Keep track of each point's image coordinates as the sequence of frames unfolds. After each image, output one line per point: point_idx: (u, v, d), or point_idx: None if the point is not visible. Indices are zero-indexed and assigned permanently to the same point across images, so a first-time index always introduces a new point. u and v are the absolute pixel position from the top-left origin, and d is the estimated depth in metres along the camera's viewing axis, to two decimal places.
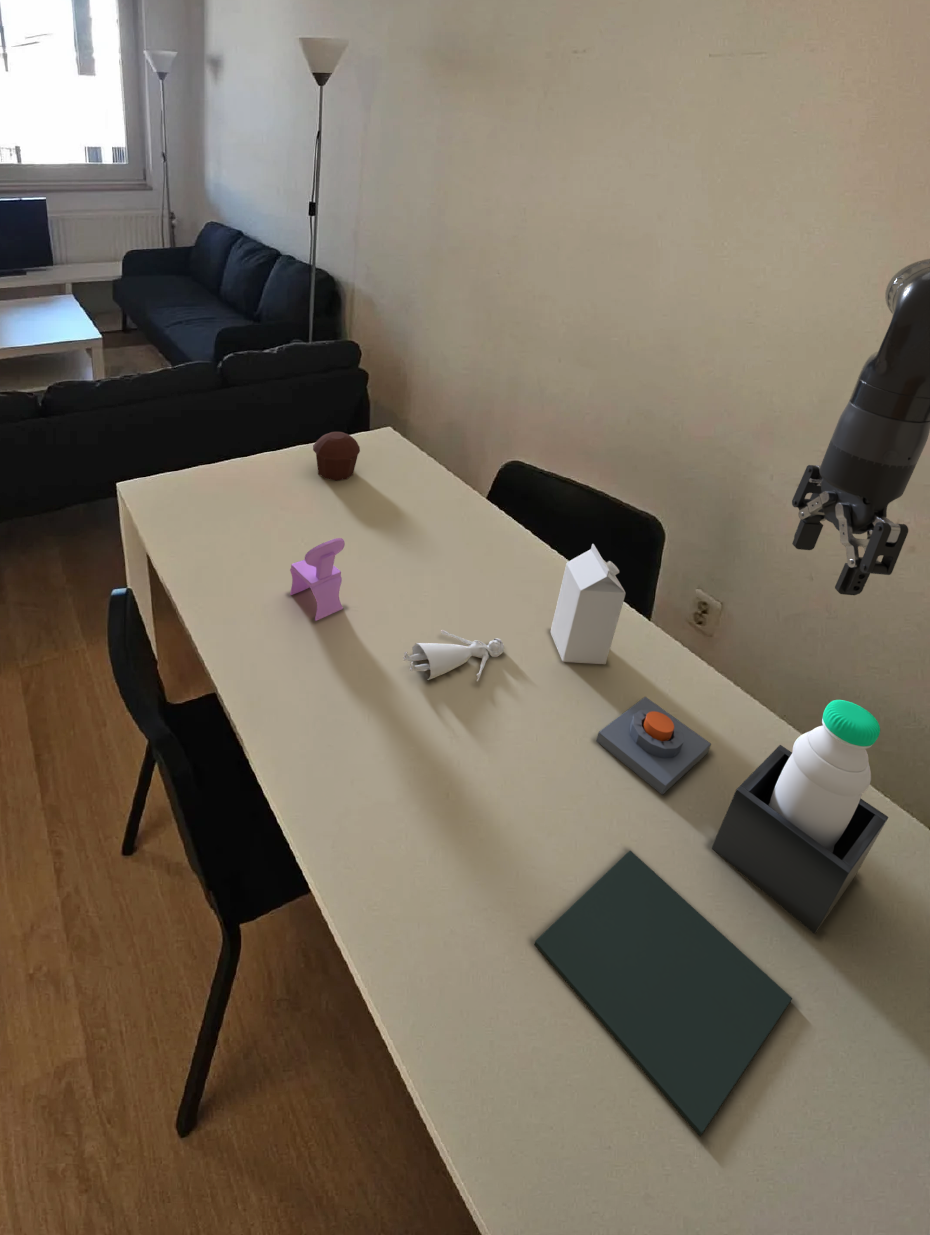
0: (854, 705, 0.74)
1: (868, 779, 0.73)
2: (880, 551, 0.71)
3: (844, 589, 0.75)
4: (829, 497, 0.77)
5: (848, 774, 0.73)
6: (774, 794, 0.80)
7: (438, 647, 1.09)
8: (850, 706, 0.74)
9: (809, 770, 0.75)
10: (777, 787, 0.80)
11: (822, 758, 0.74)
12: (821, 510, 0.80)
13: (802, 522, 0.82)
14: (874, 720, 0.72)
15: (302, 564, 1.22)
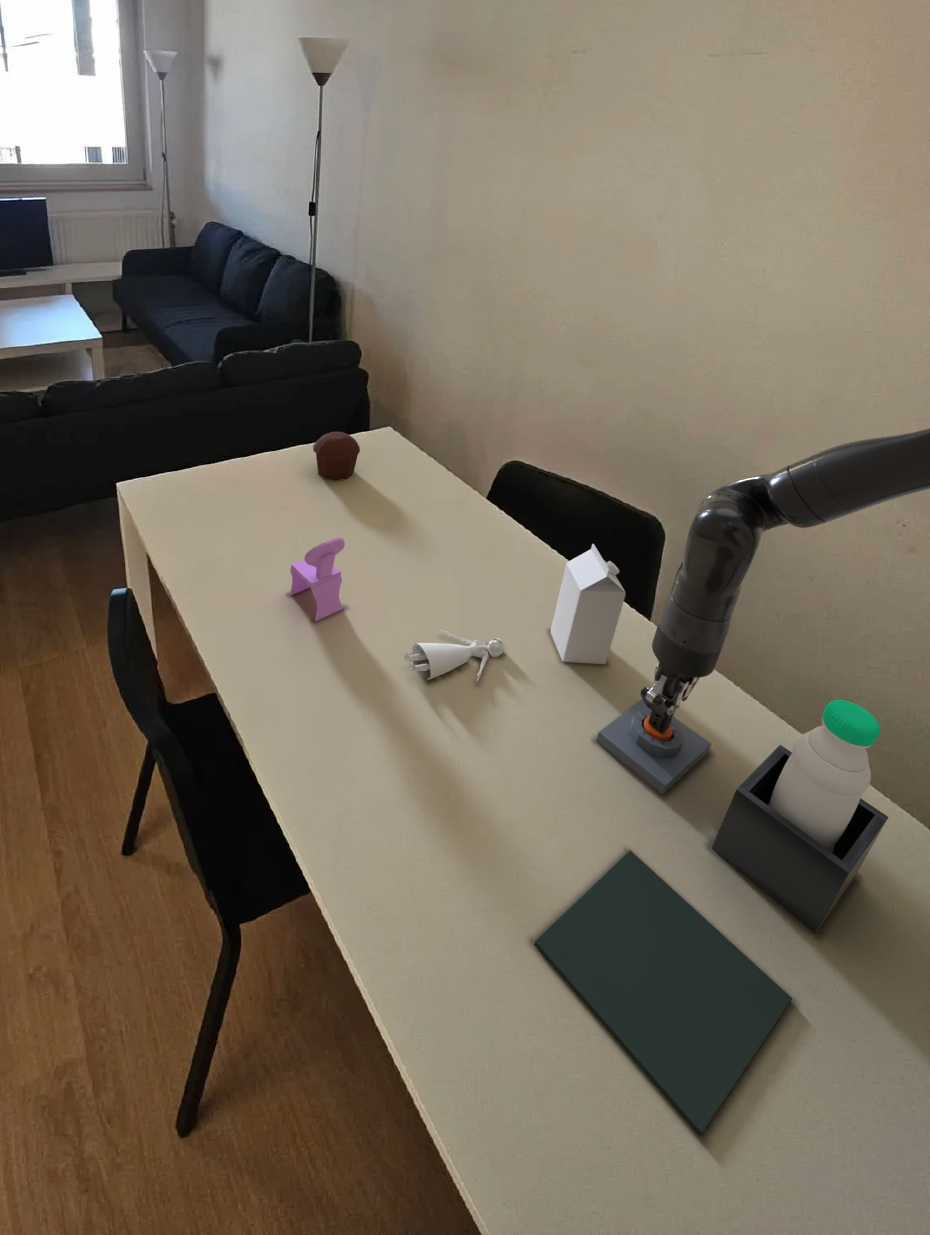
0: (854, 705, 0.74)
1: (868, 779, 0.73)
2: (646, 702, 0.91)
3: None
4: None
5: (848, 774, 0.73)
6: (774, 794, 0.80)
7: (438, 647, 1.09)
8: (850, 706, 0.74)
9: (809, 770, 0.75)
10: (777, 787, 0.80)
11: (822, 758, 0.74)
12: None
13: None
14: (874, 720, 0.72)
15: (302, 564, 1.22)
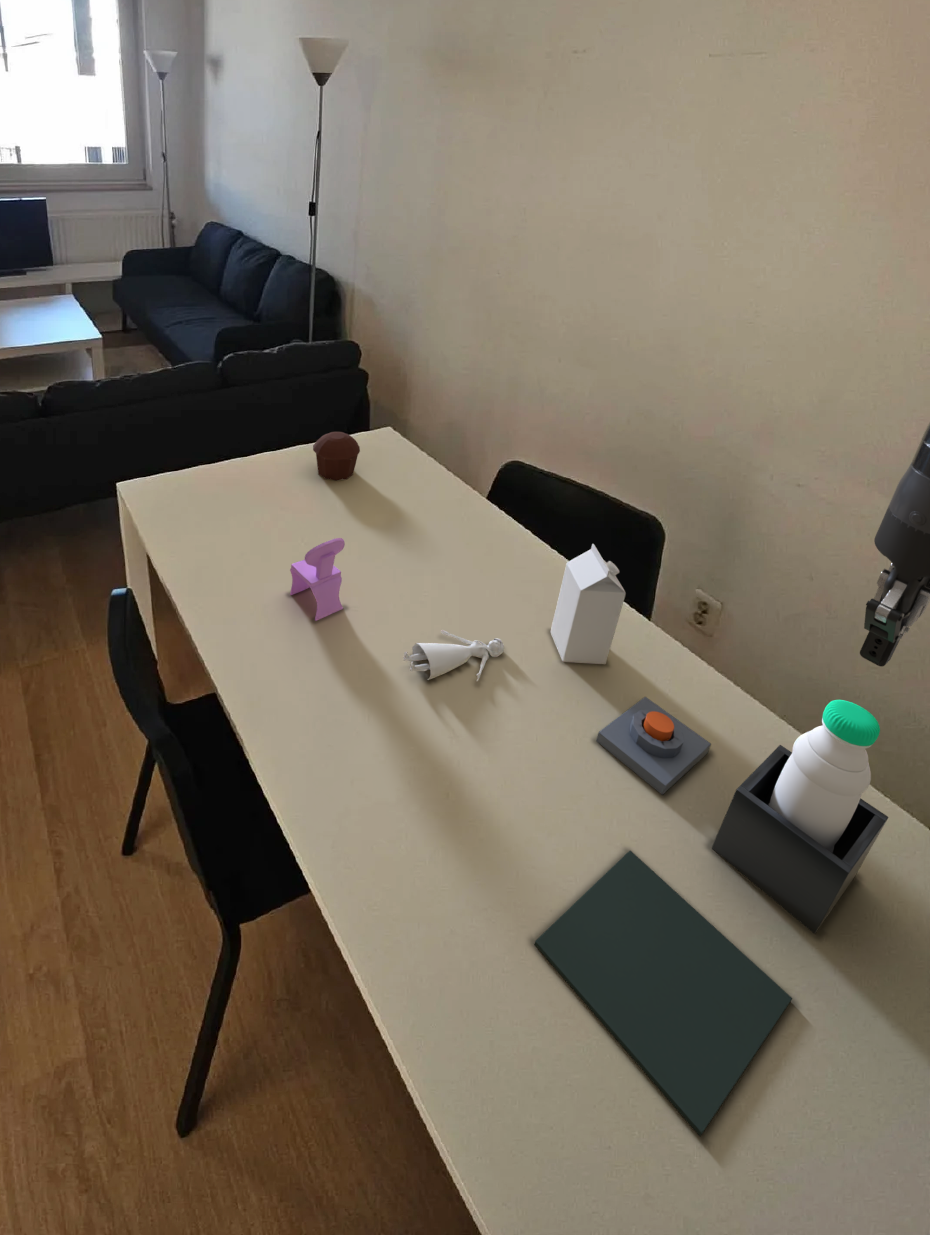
0: (854, 705, 0.74)
1: (868, 779, 0.73)
2: (871, 621, 0.66)
3: None
4: None
5: (848, 774, 0.73)
6: (774, 794, 0.80)
7: (438, 647, 1.09)
8: (850, 706, 0.74)
9: (809, 770, 0.75)
10: (777, 787, 0.80)
11: (822, 758, 0.74)
12: None
13: None
14: (874, 720, 0.72)
15: (302, 564, 1.22)
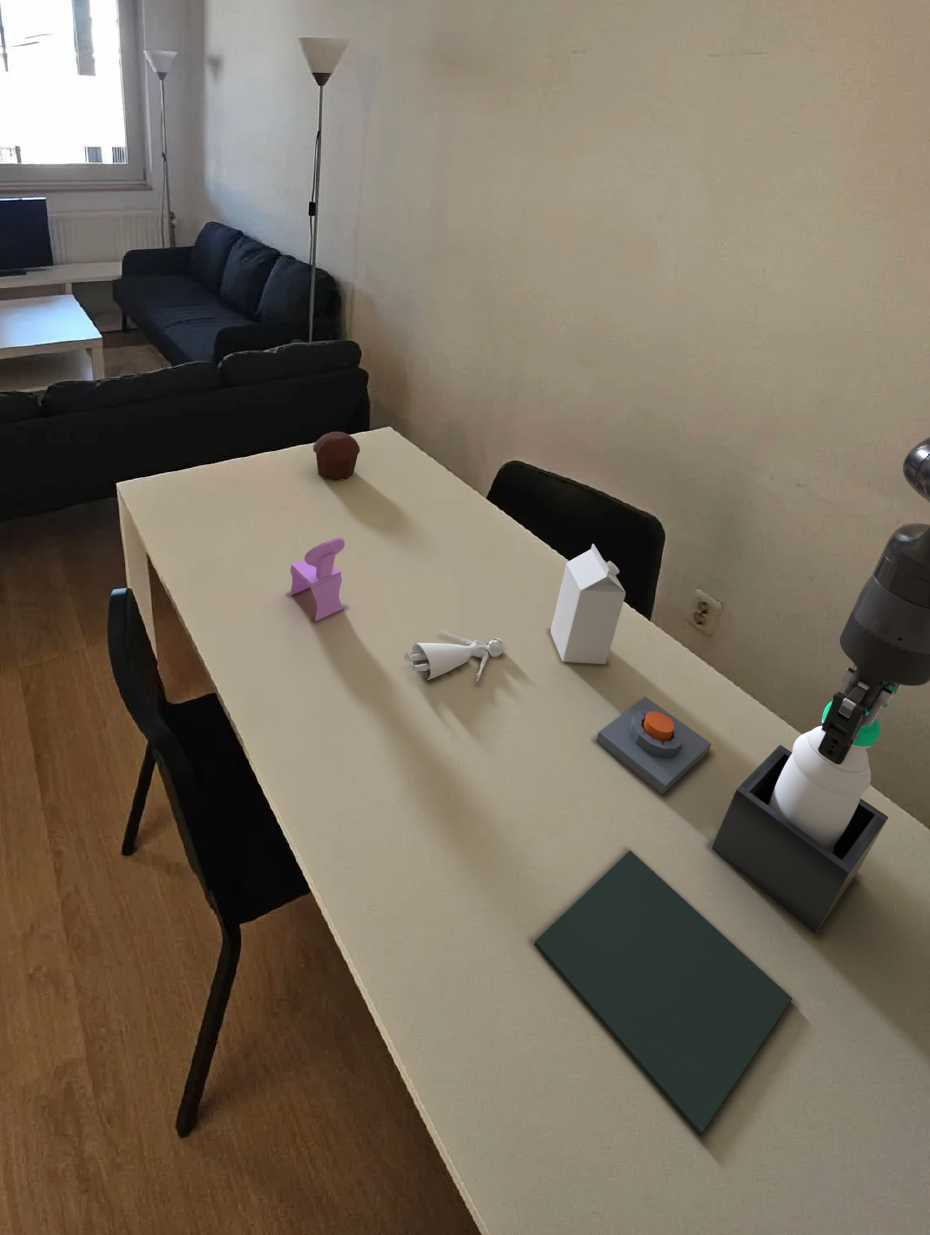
0: None
1: (868, 779, 0.73)
2: (832, 717, 0.69)
3: None
4: None
5: (848, 774, 0.73)
6: (774, 794, 0.80)
7: (438, 647, 1.09)
8: None
9: (809, 770, 0.75)
10: (777, 787, 0.80)
11: (821, 758, 0.74)
12: None
13: None
14: (874, 720, 0.72)
15: (302, 564, 1.22)
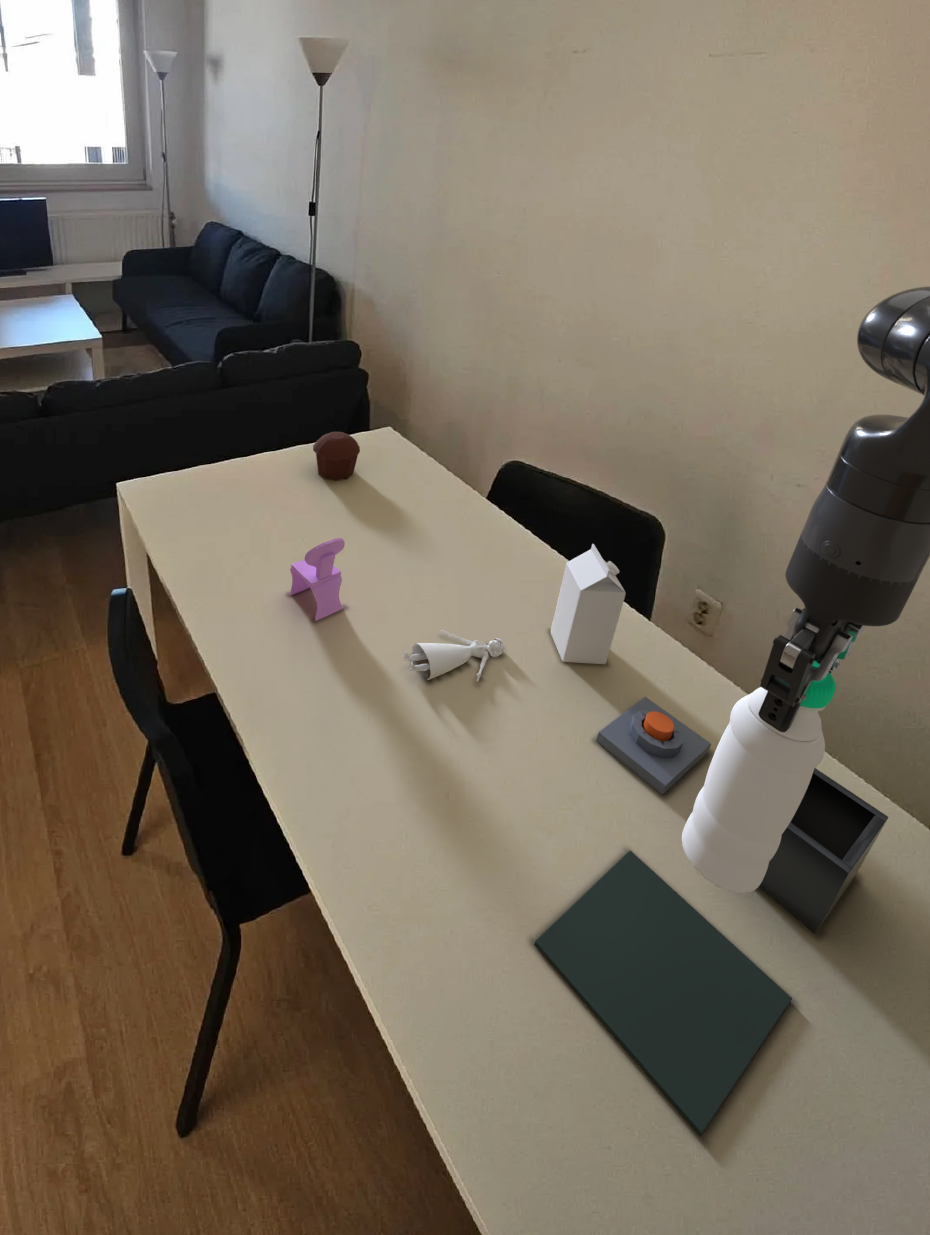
0: None
1: (821, 751, 0.58)
2: (773, 669, 0.54)
3: None
4: None
5: (795, 744, 0.57)
6: (709, 772, 0.65)
7: (438, 647, 1.09)
8: None
9: (747, 740, 0.59)
10: (712, 763, 0.64)
11: (763, 725, 0.59)
12: None
13: None
14: (828, 676, 0.57)
15: (302, 564, 1.22)
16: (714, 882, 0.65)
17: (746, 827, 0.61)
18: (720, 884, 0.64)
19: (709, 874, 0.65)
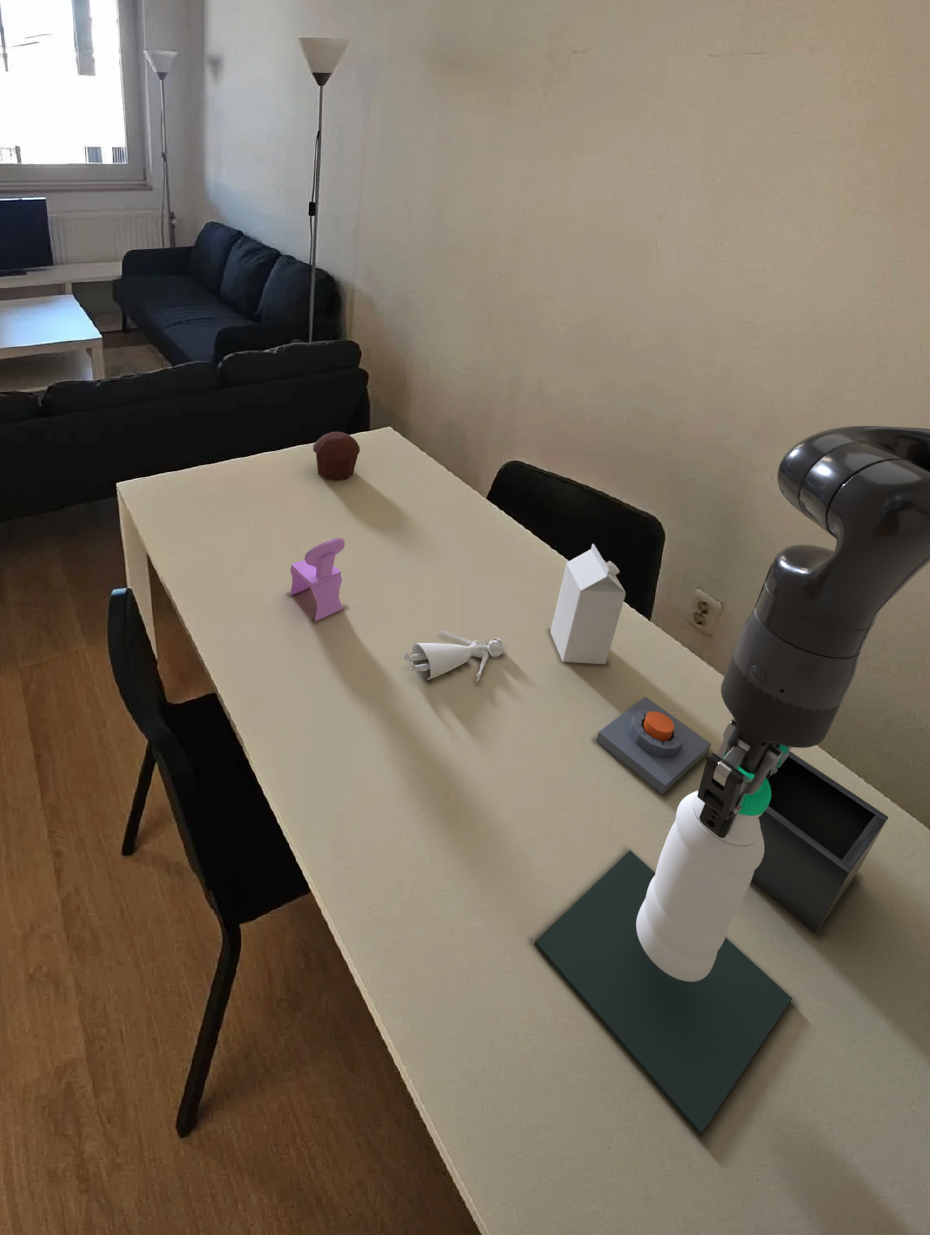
0: None
1: (759, 854, 0.60)
2: (707, 784, 0.56)
3: None
4: None
5: (734, 849, 0.59)
6: (658, 864, 0.67)
7: (438, 647, 1.09)
8: None
9: (690, 842, 0.62)
10: (661, 857, 0.66)
11: (704, 828, 0.61)
12: None
13: None
14: (765, 783, 0.59)
15: (302, 564, 1.22)
16: (665, 970, 0.67)
17: (692, 922, 0.63)
18: (671, 973, 0.67)
19: (660, 962, 0.67)
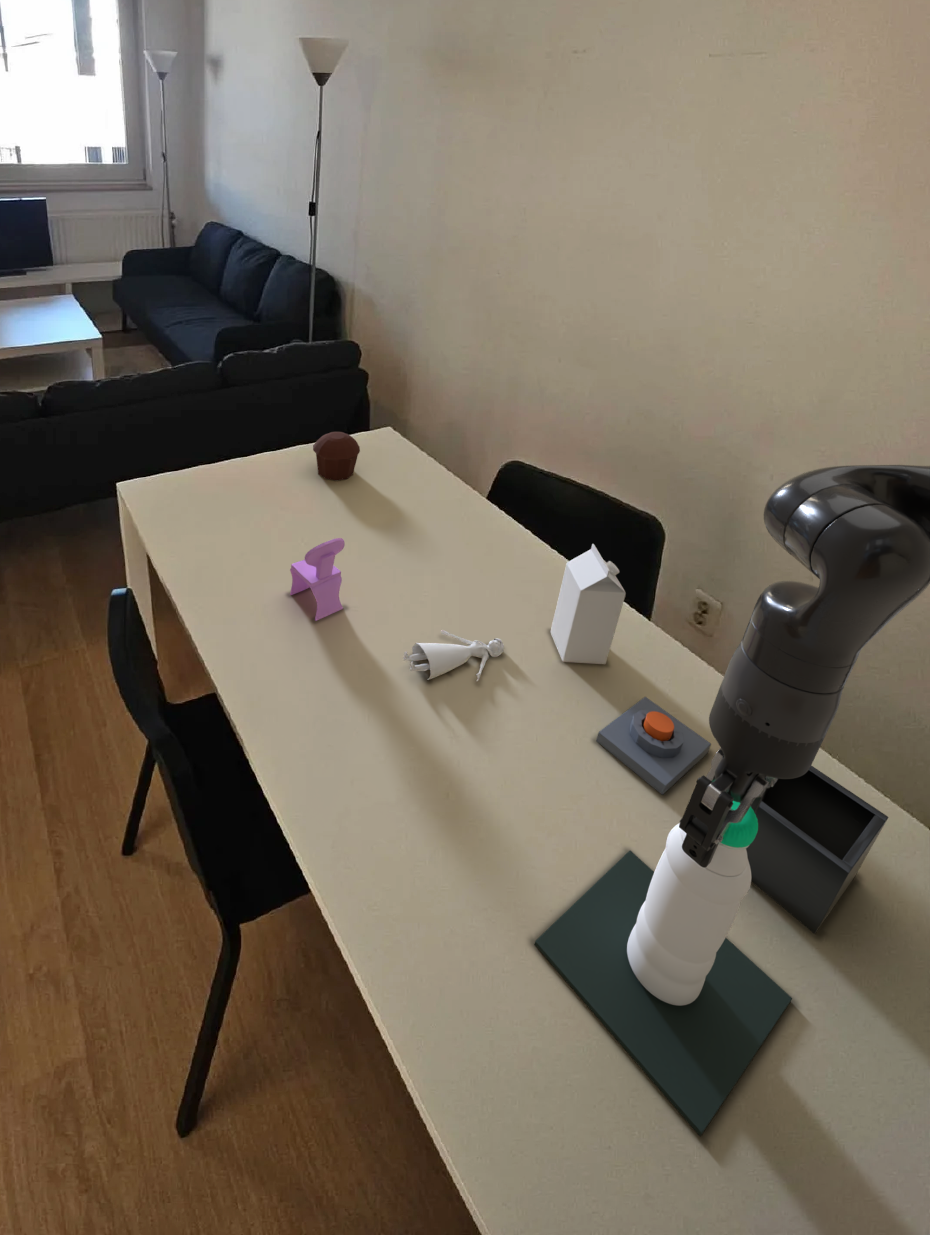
0: None
1: (746, 884, 0.61)
2: (693, 810, 0.57)
3: None
4: None
5: (722, 879, 0.61)
6: (649, 891, 0.69)
7: (438, 647, 1.09)
8: None
9: (679, 871, 0.63)
10: (651, 883, 0.68)
11: None
12: None
13: None
14: (752, 815, 0.61)
15: (302, 564, 1.22)
16: (654, 994, 0.69)
17: (681, 948, 0.65)
18: (660, 996, 0.68)
19: (650, 986, 0.69)
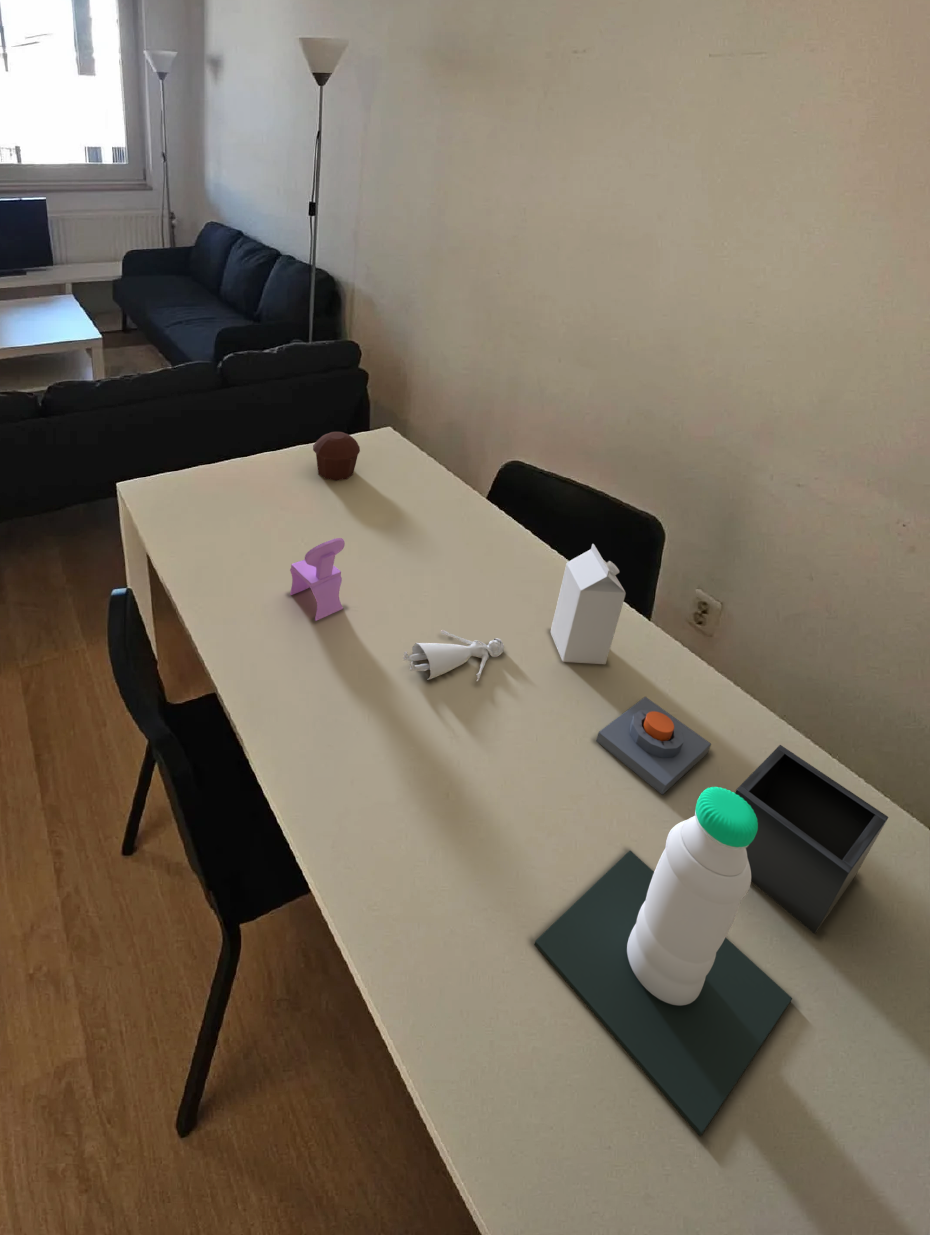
0: (731, 794, 0.63)
1: (746, 884, 0.61)
2: None
3: None
4: None
5: (722, 879, 0.61)
6: (649, 891, 0.69)
7: (438, 647, 1.09)
8: (727, 796, 0.62)
9: (679, 871, 0.63)
10: (651, 883, 0.68)
11: (693, 858, 0.63)
12: None
13: None
14: (752, 815, 0.61)
15: (302, 564, 1.22)
16: (654, 994, 0.69)
17: (681, 948, 0.65)
18: (660, 996, 0.68)
19: (650, 986, 0.69)
